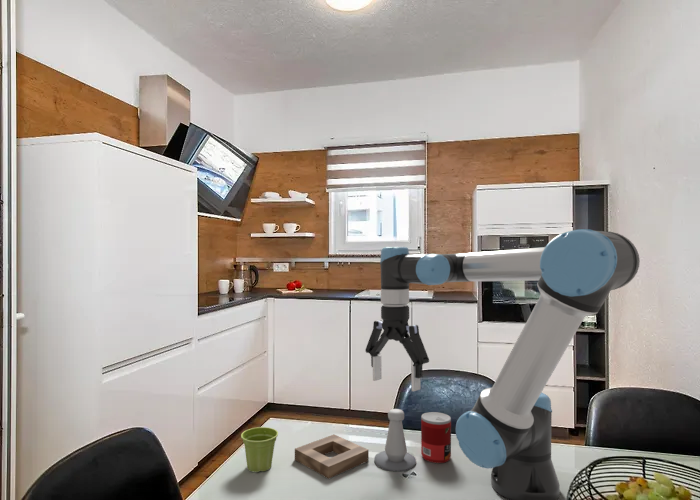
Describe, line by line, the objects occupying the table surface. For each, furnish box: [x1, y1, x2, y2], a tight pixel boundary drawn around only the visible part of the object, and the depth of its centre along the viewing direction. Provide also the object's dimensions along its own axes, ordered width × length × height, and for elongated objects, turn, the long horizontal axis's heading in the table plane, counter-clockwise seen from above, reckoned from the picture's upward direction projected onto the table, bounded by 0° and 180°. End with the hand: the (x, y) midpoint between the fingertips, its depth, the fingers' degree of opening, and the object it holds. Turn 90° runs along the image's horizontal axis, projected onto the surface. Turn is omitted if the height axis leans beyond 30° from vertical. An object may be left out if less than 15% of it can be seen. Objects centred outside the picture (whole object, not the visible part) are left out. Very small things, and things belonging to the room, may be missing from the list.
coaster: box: [373, 450, 417, 472], centre depth 122 cm, size 11×11×1 cm
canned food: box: [420, 411, 452, 464], centre depth 124 cm, size 8×8×11 cm
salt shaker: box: [384, 408, 408, 463], centre depth 122 cm, size 6×6×13 cm
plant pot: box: [240, 426, 279, 473], centre depth 118 cm, size 9×9×9 cm
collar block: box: [294, 434, 370, 480], centre depth 122 cm, size 14×14×3 cm
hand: (395, 384), depth 121 cm, fingers open, 13 cm apart
